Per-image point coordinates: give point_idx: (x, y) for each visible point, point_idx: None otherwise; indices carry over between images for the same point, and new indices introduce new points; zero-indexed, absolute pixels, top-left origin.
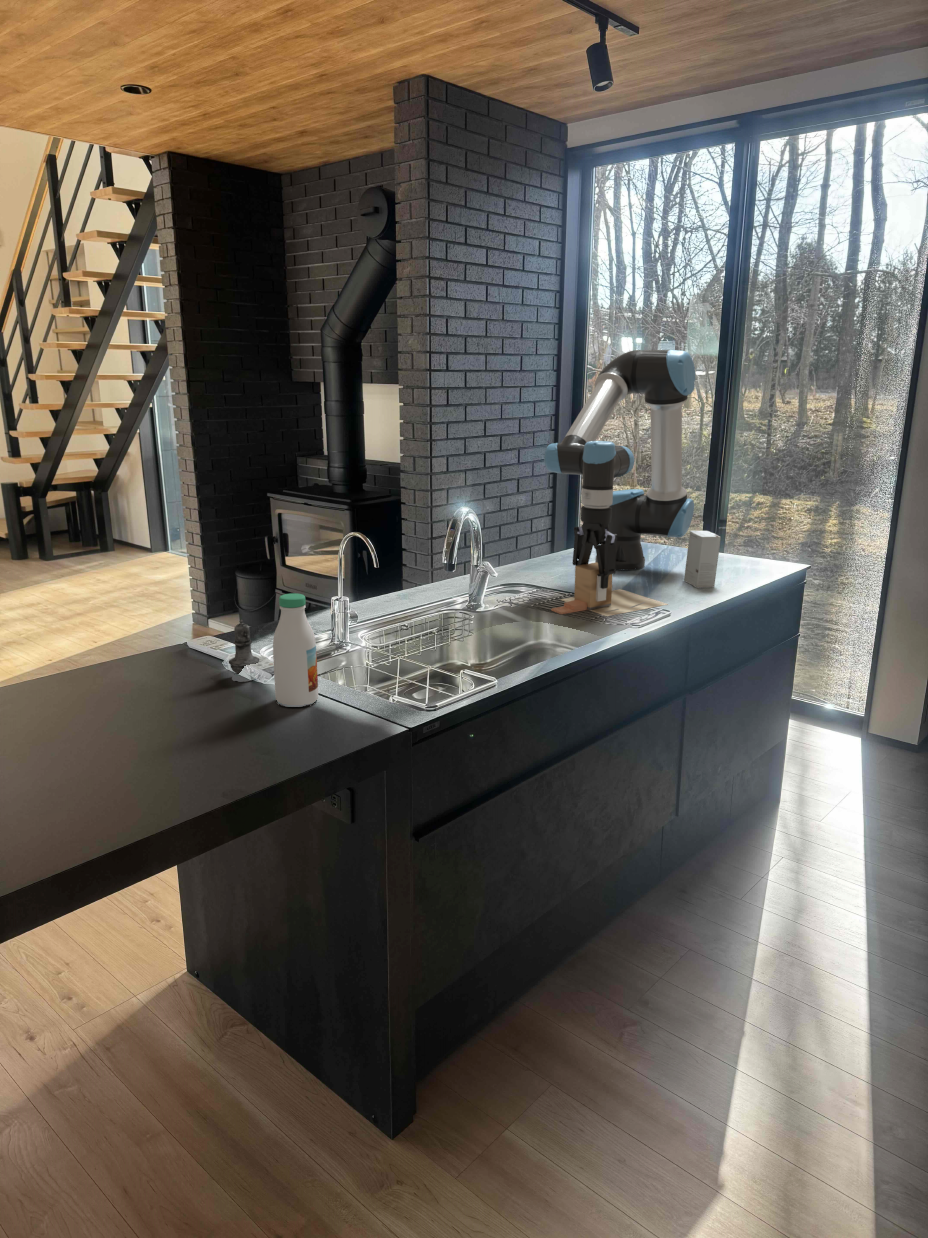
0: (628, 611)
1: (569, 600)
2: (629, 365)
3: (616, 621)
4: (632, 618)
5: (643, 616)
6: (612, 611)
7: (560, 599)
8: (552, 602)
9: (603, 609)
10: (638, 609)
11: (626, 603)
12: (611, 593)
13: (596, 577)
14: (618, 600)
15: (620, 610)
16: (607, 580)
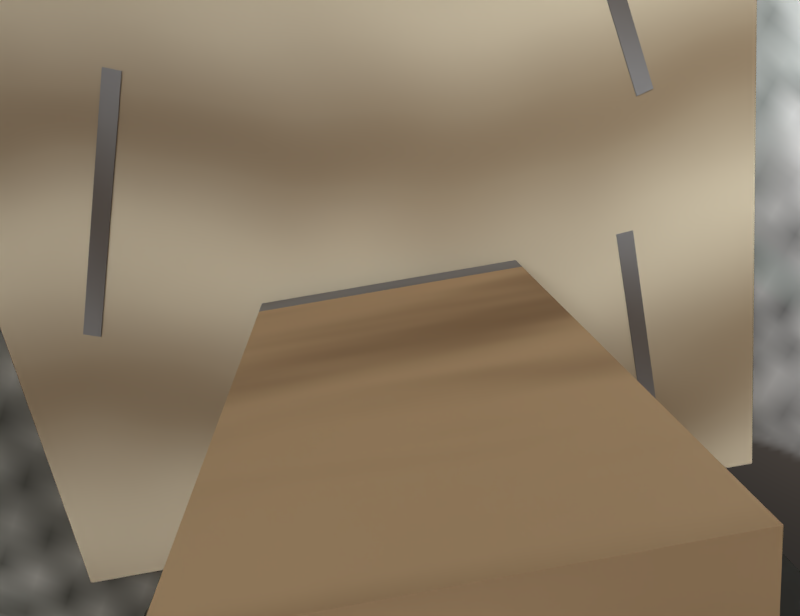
0: (742, 192)
1: (152, 518)
2: None
3: (779, 370)
4: (787, 188)
5: (795, 41)
6: (663, 338)
7: (94, 577)
8: (34, 583)
9: None
10: (741, 41)
11: (478, 15)
12: (557, 303)
13: None
14: (327, 28)
15: (675, 248)
16: (788, 575)
